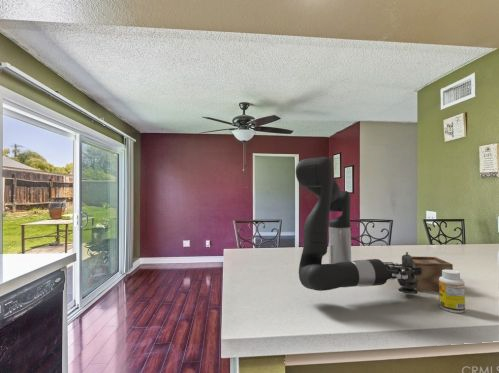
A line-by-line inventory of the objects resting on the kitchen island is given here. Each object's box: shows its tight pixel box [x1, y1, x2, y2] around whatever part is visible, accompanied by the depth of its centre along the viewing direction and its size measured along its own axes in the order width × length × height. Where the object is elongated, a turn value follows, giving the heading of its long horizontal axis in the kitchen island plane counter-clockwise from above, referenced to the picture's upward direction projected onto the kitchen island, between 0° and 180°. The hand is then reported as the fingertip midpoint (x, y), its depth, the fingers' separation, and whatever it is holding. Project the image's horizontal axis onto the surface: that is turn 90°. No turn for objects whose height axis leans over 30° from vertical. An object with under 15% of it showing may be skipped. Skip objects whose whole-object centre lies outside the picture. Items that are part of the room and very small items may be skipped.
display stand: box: [411, 255, 454, 293], centre depth 94 cm, size 11×11×9 cm
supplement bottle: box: [438, 269, 466, 314], centre depth 75 cm, size 6×6×10 cm
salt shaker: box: [396, 251, 419, 295], centre depth 85 cm, size 6×6×12 cm
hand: (415, 268), depth 86 cm, fingers closed on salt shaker, 3 cm apart
